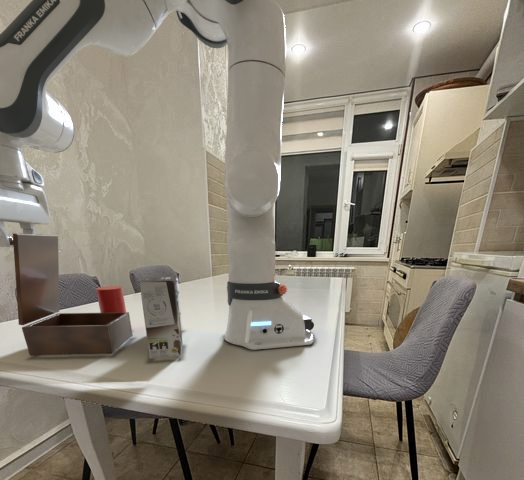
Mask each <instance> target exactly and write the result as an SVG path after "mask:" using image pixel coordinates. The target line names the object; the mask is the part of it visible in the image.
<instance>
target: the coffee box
mask: <svg viewBox="0 0 524 480" xmlns="http://www.w3.org/2000/svg"><path fill="white" fill-rule="evenodd" d="M176 278H177V276H175V275H174V276H173V275H172V276H171V275H170V276H169V275H168V276H155V277H154V276H153V277H150V276H149V277H148V276H147V277H145V278H143V279H142V280H140V281H139V289H140V297H141V304H142V311H143V320H144V326H145V333H146V339H147V349H148V356H149V357H148V358H149V359H150V360H153V359H169V358H178V360H181V359H182V352H183V345H184V343H183V341H184V340H183V332H182V331H183V329H182V330H181V321H180V311H179V301H178V291H177V281H176Z"/></svg>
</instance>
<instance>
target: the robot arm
mask: <svg viewBox="0 0 524 480" xmlns="http://www.w3.org/2000/svg"><path fill="white" fill-rule="evenodd" d="M173 12H176V17H177V18H178V20H179V22H180V23H181V25H183V26H184V27H185V28H186V29H188V30H189V31H191V32H192V34H193V35H194V36H195V37H196V38H197V39H198V40H199V41H200V42H201V43H203V44H204V45H205V46H207V47H209V48H212V49H222V48H224V47H226V46H227V50H228V61H227V63H228V64H227V101H226V102H227V104H226V105H227V107H226V109H227V110H226V129H225V130H226V132H225V133H226V134H225V152H224V171H223V172H224V175H223V188H224V192H225V197H226V215H227V216H226V219H227V221H226V223H227V225H226V226H227V232H226V233H227V265H228V267H227V268H228V269H227V270H228V271H227V272H228V281H227V283H226V284H227V285H226V300H227V301H226V302H227V305H228V314H227V315H228V316H227V323H226V328H225V329H226V330H225V333H224V337H223V339H224V340H225V341H226V342H228V343H229V344H232V345H236V346H240V347H244V348H246V349H248V350H253V351H254V350H256V351H257V350H265V349H267V350H268V349H278V348H279V349H280V348H288V347H289V348H290V347H298V346H299V347H300V346H310V345H312V344H313V343H314V341H315V340H314V339H315V338H314V334H313V332H312V330H313V329H314V327H315V324H314V323H315V322H313V318H311V317H309V316H307V315H303V314H302V312H301V311H300V310H299V309H297V307H295V306H294V305H293V304H291V303H290V302H289V301H288V300H286V298H284V297H283V296H284V295H285V294H286V293H287V292H288V287H287V286H286V285H285V284H282V283H280V282H278V281H277V280H276V239H275V238H276V237H275V235H276V234H275V217H274V216H275V215H274V214H275V212H274V207H275V206H274V205H275V203H276V201H277V199H278V198H279V194H280V190H281V170H282V169H281V168H282V126H283V125H282V124H283V123H282V122H283V112H284V111H283V110H284V99H285V97H284V96H285V85H286V84H285V83H286V82H285V81H286V71H287V70H286V65H287V44H286V43H287V42H286V41H287V39H286V28H285V27H286V25H285V17H284V16H285V15H284V13H283V10H282V7H281V6H280V5H279V3H278V2H277V1H276V0H31V1H30V2H29V4H27V6H26V7H25V8H24V9H23V10H22V11H21V12H20V13H19V14H18V15H17V16H16V17H15V18H14V19H13V20H12V21H11V22H10V23H9V25H7V27H6V28H5V29H4V30H3V31H2V32H1V33H0V247H1V248H13V247H12V246H13V242H12V237H8V236H9V235H8V233H7V232H6V230H5V227H6V226H5V222H6V223H8V222H9V223H17V224H19V227H20V229H21V230H22V234H36V226H35V225H49V224H50V222H51V213H50V208H49V202H48V198H47V194H46V193H45V190H44V189H43V188H42V187H45V180H44V176H42V174H40V173H39V172H38V171H37V170H36V169H34V167H32V166H31V165H30V164H29V162H28V161H27V160H25V157H24V154H23V148H24V147H28V148H32V149H35V150H39V151H42V152H47V153H55V154H56V153H63V152H64V151H66V150H67V149H69V148H70V147H71V145H72V143H73V141H74V138H75V125H74V122H73V118H72V117H71V115H70V113H69V112H68V110H67V108H65V106H64V105H63V104H62V103H61V102H60V101H59V100H58V99H57V98H56V97H55V96H54V95H53V94H52V93H51V92H50V91H48V89H47V88H48V85H49V84H50V82H51V81H52V80H53V79H54V78H55V76H57V74H58V73H60V71H62V69H63V68H64V67H65V66H66V65H67V63H69V61H70V60H71V59H72V58H73V57H74V56H75V55H76V54H77V53H78V52H79V51H80V50H82V49H84V48H86V47H91V46H93V47H99V48H103V49H104V50H106V51H108V52H109V53H111V54H113V55H117V56H120V57H132V56H134V55H135V54H136V53H137V52H139V51H140V50H141V49H143V48H144V47H145V45H146V44H148V42H150V39H151V38H152V37H153V35H154V34H155V32H157V30H158V29H159V27H160V26H161V25H162V24H163V22H164V21H165V19H166V18H167V17H168V16H169V15H170V14H172V13H173Z"/></svg>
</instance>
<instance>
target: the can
mask: <svg viewBox="0 0 524 480" xmlns="http://www.w3.org/2000/svg"><path fill="white" fill-rule="evenodd" d="M95 292H96V296H97V301H98V307H99V311H100V312H99V313H113V312H127V307H126V301H125V296H124V291H123V286H119V285H117V286H115V285H111V286H109V285H108V286H101V287H96V288H95Z"/></svg>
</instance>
